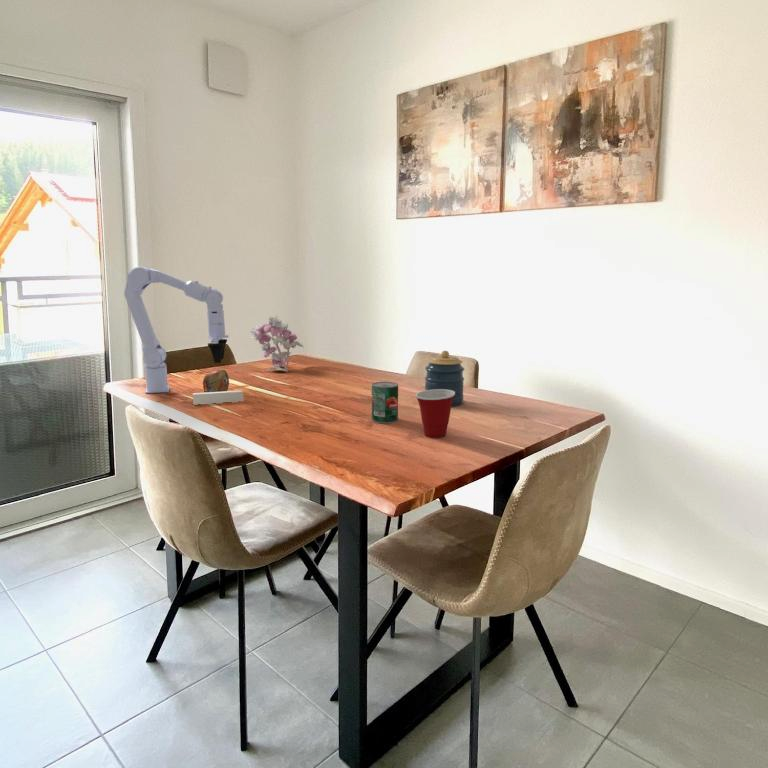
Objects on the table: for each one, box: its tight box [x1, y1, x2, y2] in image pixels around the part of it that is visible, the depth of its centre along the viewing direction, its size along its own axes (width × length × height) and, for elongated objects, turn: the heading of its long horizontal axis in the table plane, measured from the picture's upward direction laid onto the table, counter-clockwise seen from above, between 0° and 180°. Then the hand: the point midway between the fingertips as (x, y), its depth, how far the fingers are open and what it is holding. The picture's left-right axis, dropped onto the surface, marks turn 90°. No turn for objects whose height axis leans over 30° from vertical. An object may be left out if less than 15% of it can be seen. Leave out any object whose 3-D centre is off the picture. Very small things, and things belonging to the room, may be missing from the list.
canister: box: [424, 350, 465, 407], centre depth 203 cm, size 13×13×18 cm
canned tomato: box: [371, 381, 399, 424], centre depth 180 cm, size 8×8×11 cm
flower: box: [249, 315, 304, 373], centre depth 262 cm, size 20×22×25 cm
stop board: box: [192, 389, 244, 406], centre depth 202 cm, size 2×16×4 cm, turn 108°
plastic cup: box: [414, 389, 455, 439], centre depth 165 cm, size 11×11×12 cm
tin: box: [202, 369, 230, 393], centre depth 213 cm, size 15×3×8 cm, turn 168°
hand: (219, 360), depth 222 cm, fingers open, 7 cm apart
